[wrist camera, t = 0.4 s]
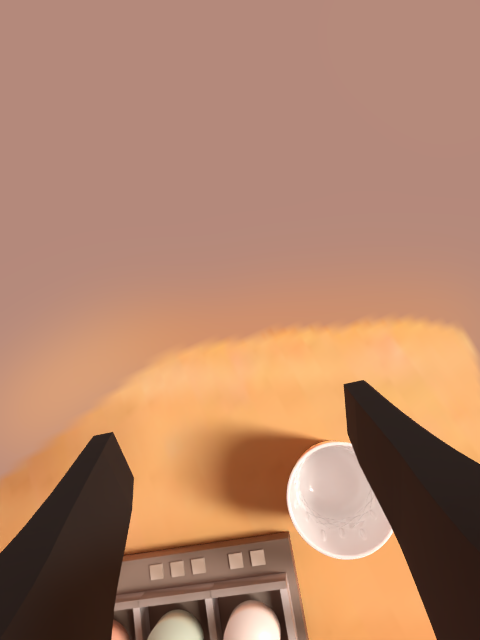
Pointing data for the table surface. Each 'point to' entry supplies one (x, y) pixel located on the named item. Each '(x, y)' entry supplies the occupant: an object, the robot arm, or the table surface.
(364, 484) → the white cup
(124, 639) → the terracotta button
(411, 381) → the table surface
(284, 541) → the button panel
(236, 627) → the off-white button
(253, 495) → the table surface
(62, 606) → the robot arm
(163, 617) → the sage button
